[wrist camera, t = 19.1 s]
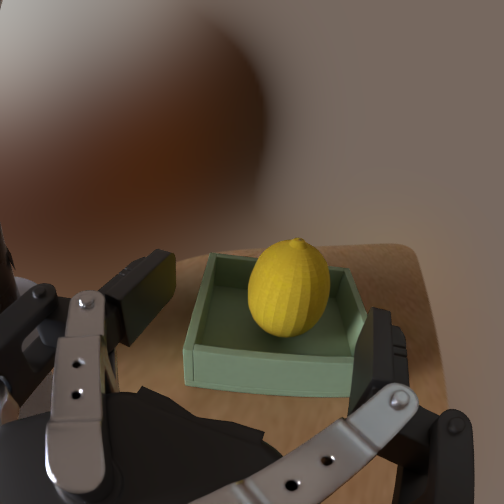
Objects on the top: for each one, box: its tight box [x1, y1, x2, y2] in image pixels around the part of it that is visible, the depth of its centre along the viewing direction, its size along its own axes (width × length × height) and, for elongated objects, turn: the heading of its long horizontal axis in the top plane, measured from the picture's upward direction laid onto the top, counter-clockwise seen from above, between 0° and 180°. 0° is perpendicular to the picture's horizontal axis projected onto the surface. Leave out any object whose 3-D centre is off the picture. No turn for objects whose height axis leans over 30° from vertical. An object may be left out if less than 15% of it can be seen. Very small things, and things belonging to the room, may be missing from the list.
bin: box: [183, 253, 367, 397], centre depth 23 cm, size 12×11×4 cm
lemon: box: [248, 238, 330, 338], centre depth 22 cm, size 6×6×8 cm
